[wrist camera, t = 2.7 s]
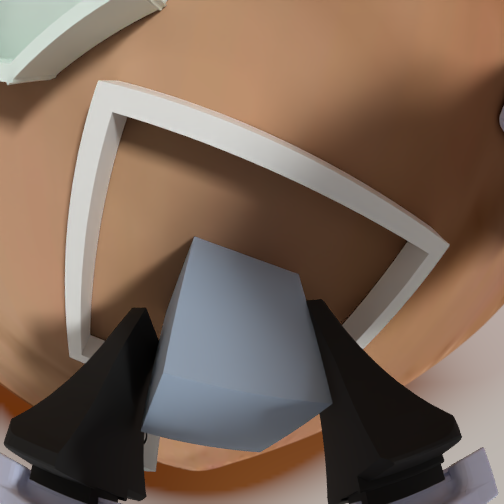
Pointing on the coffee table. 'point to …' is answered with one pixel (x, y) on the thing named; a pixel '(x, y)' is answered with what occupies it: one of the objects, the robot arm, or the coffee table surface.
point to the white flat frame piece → (247, 147)
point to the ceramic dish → (59, 32)
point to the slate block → (234, 355)
